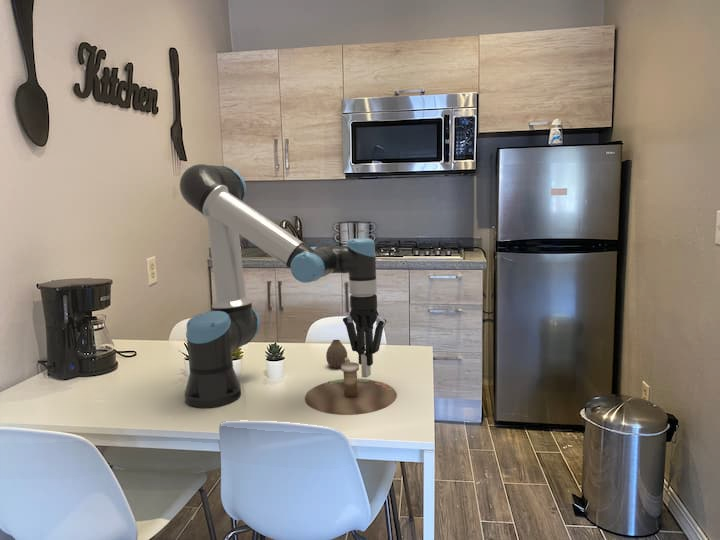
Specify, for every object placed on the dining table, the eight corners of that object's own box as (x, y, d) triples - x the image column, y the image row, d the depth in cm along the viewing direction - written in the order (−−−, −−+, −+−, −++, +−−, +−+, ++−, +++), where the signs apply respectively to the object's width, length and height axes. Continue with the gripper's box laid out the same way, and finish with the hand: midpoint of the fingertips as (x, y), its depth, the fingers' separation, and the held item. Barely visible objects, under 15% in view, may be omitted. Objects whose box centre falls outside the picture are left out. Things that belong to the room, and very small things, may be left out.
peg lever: (360, 397, 134) (359, 367, 133) (342, 398, 134) (341, 368, 133) (354, 377, 149) (354, 350, 148) (338, 378, 149) (337, 351, 148)
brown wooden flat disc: (314, 425, 121) (314, 420, 121) (298, 389, 145) (297, 384, 145) (411, 410, 128) (410, 405, 128) (379, 378, 152) (379, 374, 152)
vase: (347, 369, 161) (346, 343, 160) (325, 370, 161) (324, 343, 160) (348, 362, 168) (347, 337, 166) (327, 363, 168) (326, 337, 167)
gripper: (390, 293, 139) (392, 374, 143) (349, 290, 146) (352, 368, 149) (378, 298, 133) (381, 383, 136) (336, 295, 139) (339, 377, 142)
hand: (366, 375), depth 142 cm, fingers closed
